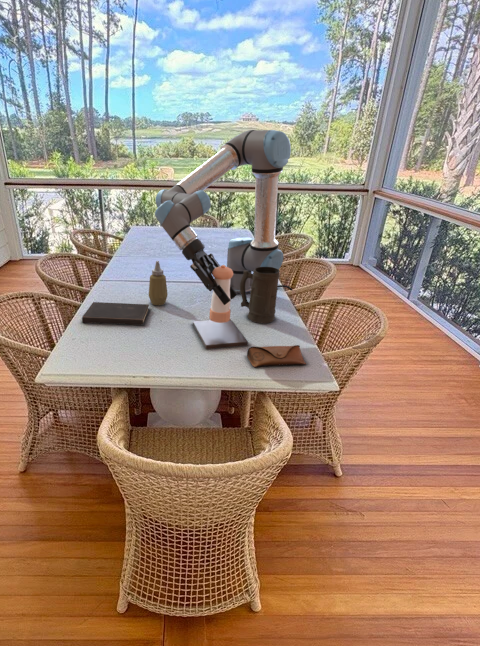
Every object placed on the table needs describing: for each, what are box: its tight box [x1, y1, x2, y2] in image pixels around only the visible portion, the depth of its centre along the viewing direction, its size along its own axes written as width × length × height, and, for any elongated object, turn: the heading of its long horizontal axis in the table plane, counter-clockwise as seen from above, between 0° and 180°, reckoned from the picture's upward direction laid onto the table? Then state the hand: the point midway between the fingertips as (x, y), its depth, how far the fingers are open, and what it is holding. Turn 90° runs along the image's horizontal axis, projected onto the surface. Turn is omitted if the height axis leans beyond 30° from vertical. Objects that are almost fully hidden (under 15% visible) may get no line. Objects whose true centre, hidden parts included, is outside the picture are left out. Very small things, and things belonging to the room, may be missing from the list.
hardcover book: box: [81, 301, 150, 326], centre depth 155 cm, size 16×23×2 cm
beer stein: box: [240, 267, 281, 324], centre depth 153 cm, size 15×11×20 cm
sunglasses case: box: [246, 344, 307, 368], centre depth 127 cm, size 18×7×7 cm, turn 99°
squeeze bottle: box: [148, 260, 168, 306], centre depth 163 cm, size 8×8×18 cm
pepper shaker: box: [209, 264, 233, 323], centre depth 135 cm, size 7×7×19 cm
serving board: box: [192, 318, 249, 350], centre depth 143 cm, size 15×20×2 cm
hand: (231, 299), depth 135 cm, fingers closed on pepper shaker, 5 cm apart
